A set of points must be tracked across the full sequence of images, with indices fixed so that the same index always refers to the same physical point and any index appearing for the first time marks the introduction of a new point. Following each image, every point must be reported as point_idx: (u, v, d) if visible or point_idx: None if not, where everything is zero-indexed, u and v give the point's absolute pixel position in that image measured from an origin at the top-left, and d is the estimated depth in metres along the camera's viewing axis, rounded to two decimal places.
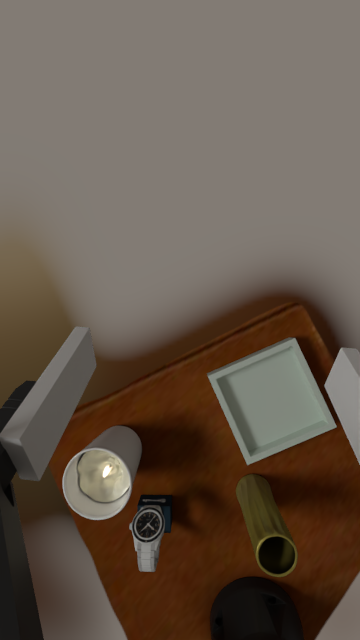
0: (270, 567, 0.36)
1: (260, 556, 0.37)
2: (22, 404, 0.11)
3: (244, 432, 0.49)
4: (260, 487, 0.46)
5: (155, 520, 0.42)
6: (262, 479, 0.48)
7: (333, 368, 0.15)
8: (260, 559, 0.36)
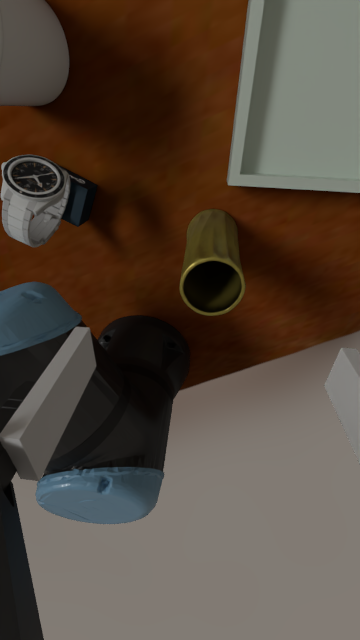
0: (193, 300, 0.24)
1: (186, 285, 0.24)
2: (22, 404, 0.11)
3: (251, 135, 0.27)
4: (228, 224, 0.30)
5: (49, 178, 0.25)
6: (233, 223, 0.32)
7: (333, 368, 0.15)
8: (185, 286, 0.24)
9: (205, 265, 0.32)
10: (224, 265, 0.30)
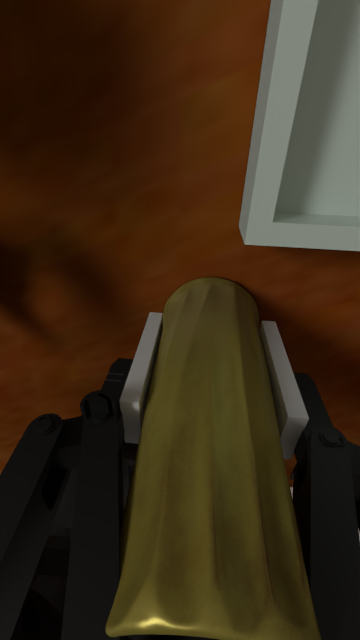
0: None
1: None
2: (129, 375, 0.12)
3: (299, 130, 0.12)
4: (244, 324, 0.14)
5: None
6: (252, 305, 0.16)
7: None
8: None
9: None
10: None
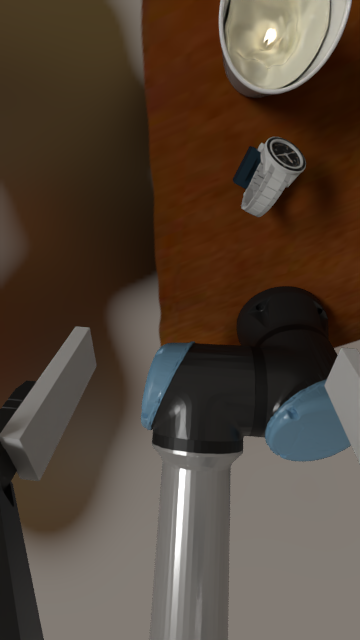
0: None
1: None
2: (22, 404, 0.10)
3: None
4: None
5: (294, 156, 0.30)
6: None
7: (333, 368, 0.15)
8: None
9: None
10: None
